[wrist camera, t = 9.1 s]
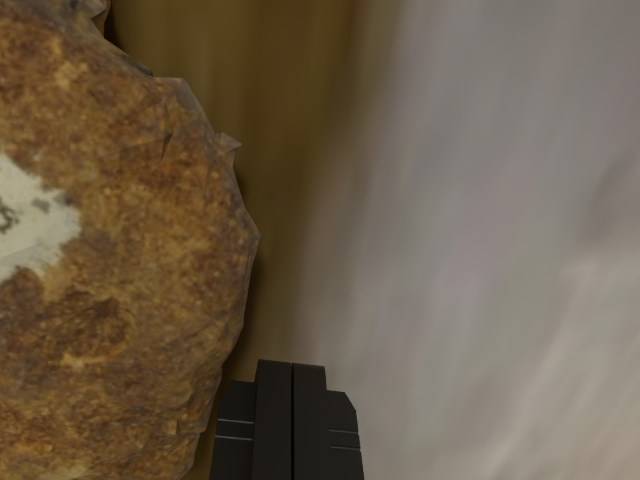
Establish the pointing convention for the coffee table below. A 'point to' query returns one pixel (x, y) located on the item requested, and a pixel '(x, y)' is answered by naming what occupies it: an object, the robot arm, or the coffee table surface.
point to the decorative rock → (109, 254)
